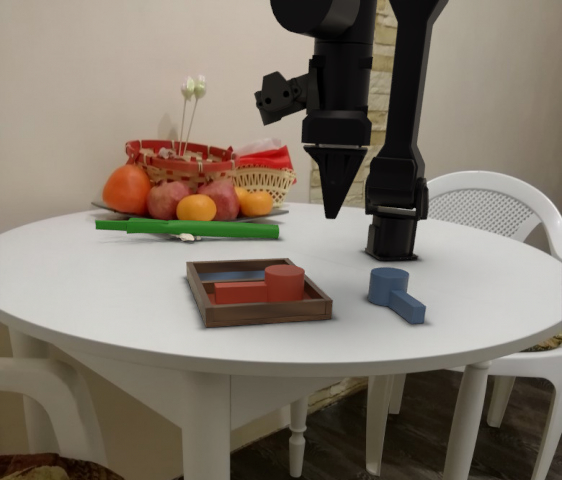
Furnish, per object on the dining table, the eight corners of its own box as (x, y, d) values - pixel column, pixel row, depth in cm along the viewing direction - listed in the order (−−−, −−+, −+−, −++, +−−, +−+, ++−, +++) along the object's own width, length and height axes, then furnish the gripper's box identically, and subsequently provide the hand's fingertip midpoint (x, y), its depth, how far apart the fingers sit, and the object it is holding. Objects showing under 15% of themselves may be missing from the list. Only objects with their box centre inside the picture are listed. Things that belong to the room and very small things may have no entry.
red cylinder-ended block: (297, 292, 66) (299, 263, 64) (307, 304, 62) (309, 275, 60) (213, 295, 64) (212, 266, 62) (217, 308, 60) (217, 278, 58)
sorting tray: (287, 273, 76) (288, 257, 75) (331, 319, 60) (333, 300, 59) (186, 277, 72) (186, 261, 71) (205, 327, 57) (205, 307, 56)
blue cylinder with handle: (362, 295, 68) (364, 267, 67) (395, 293, 69) (398, 266, 68) (398, 325, 60) (402, 294, 58) (436, 322, 61) (441, 292, 59)
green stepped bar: (274, 240, 97) (97, 234, 90) (275, 221, 95) (95, 213, 88) (280, 247, 93) (95, 241, 85) (281, 228, 91) (93, 220, 84)
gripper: (272, 50, 62) (269, 194, 69) (245, 32, 45) (245, 224, 52) (371, 53, 61) (358, 198, 68) (381, 36, 44) (361, 230, 51)
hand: (331, 210), depth 60 cm, fingers open, 9 cm apart
